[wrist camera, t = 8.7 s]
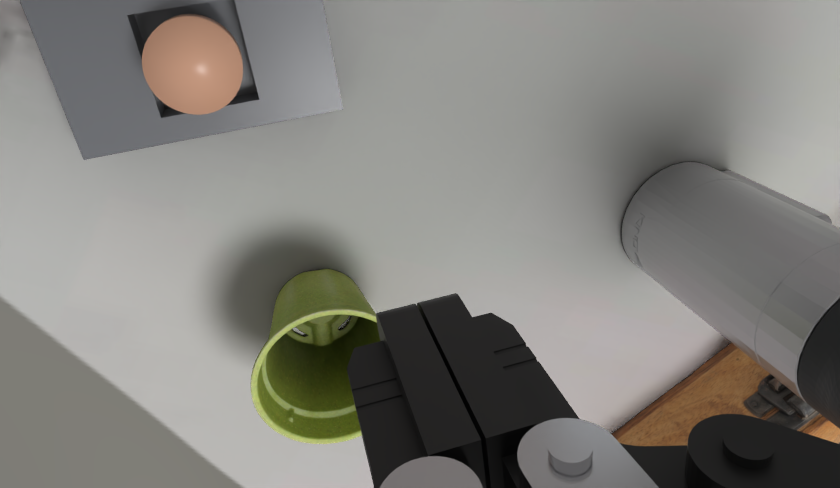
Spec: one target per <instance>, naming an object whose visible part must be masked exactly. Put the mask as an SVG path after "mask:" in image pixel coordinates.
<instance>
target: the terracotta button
mask: <svg viewBox="0 0 840 488" xmlns="http://www.w3.org/2000/svg"><path fill="white" fill-rule="evenodd" d="M142 68H143V73H144V76H145V79H146V81H147V83H148V85H149V87H150V89H151V90H152V91H153V93H154V94H155V95H156V96H157V97H158V98H159V99H160V100H161V101H162V102H163V103H165V104H166V105H168V106H169V107H171V108H173V109H175V110H177V111H180V112H183V113H187V114H193V115H202V114H209V113H212V112H215V111H218V110H220V109H221V108H223V107H225V106H226V105H227V104H229V103H230V102H231V101H232V100H233V98H234V97H235V96H236V94H237V92H238V90H239V88H240V86H241V82H242V78H243V60H242V55H241V51H240V48H239V46H238V44H237V42H236V40H235V39H234V37H233V36H232V35H231V33H230V32H229V31H228V30H227V29H226V28H225V27H224V26H222V25H221V24H220V23H218V22H216V21H215V20H213V19H211V18H208V17H205V16H202V15H197V14H181V15H177V16H174V17H171V18H169V19H167V20H166V21H164V22H163V23H161V24H160V25H159V26H158V27H157V28H156V29H155V30H154V31H153V32H152V33H151V35H150V36H149V37H148V39H147V41H146V43H145V46H144V49H143V54H142Z"/></svg>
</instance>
